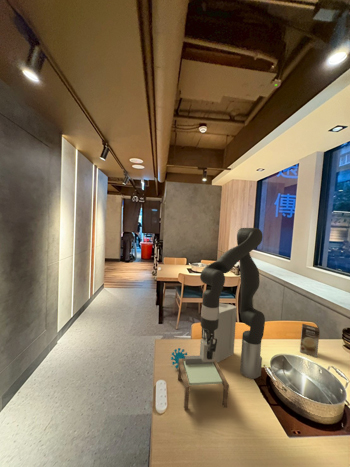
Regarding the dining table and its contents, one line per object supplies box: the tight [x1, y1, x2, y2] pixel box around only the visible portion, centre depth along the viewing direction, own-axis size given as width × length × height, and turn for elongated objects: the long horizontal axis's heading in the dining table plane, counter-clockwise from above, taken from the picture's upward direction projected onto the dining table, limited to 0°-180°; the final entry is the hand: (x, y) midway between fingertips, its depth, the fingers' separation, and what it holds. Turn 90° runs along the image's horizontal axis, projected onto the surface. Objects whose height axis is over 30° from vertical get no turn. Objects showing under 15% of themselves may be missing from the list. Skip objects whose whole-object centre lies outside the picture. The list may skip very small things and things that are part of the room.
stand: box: [177, 359, 230, 411], centre depth 94 cm, size 18×18×10 cm
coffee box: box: [299, 323, 320, 358], centre depth 130 cm, size 9×6×16 cm
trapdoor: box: [184, 355, 222, 386], centre depth 94 cm, size 14×14×4 cm
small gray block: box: [199, 338, 215, 362], centre depth 89 cm, size 5×5×7 cm
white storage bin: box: [214, 302, 238, 363], centre depth 124 cm, size 19×15×28 cm
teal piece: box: [170, 347, 188, 370], centre depth 112 cm, size 11×6×10 cm
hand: (207, 354), depth 89 cm, fingers closed on small gray block, 5 cm apart
